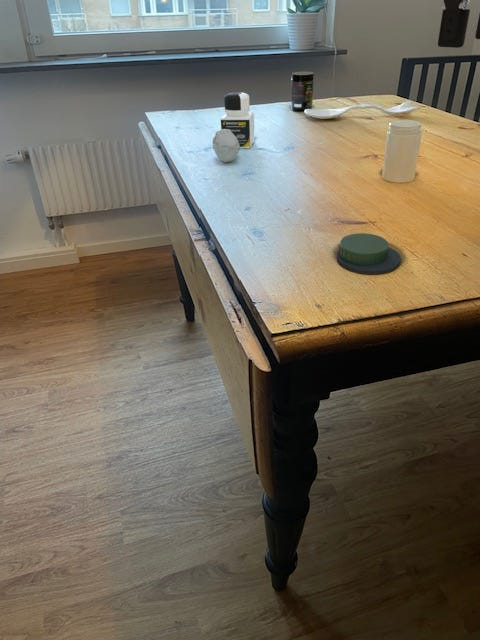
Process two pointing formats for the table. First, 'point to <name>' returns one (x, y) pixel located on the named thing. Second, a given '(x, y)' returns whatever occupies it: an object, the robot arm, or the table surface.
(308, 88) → the supplement container
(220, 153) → the grey rock
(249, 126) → the medicine bottle
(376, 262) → the jar lid
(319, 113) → the spoon
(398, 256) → the coaster
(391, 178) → the jar
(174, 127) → the table surface
